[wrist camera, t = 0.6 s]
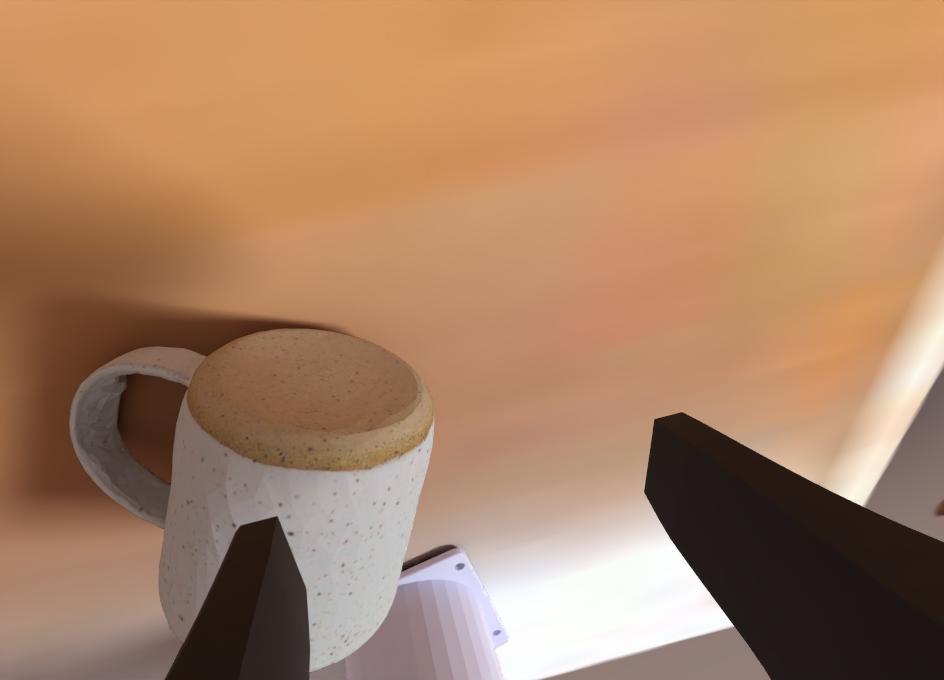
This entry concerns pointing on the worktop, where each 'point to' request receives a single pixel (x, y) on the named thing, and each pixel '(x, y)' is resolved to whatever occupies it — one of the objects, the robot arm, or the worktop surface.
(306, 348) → the ceramic mug
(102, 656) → the worktop surface
